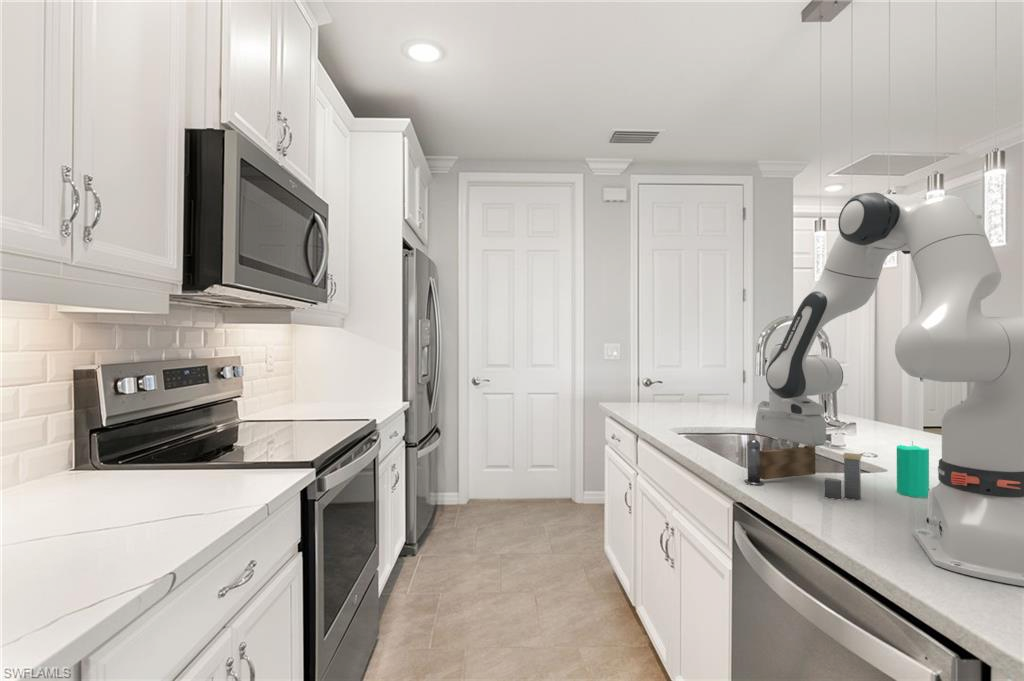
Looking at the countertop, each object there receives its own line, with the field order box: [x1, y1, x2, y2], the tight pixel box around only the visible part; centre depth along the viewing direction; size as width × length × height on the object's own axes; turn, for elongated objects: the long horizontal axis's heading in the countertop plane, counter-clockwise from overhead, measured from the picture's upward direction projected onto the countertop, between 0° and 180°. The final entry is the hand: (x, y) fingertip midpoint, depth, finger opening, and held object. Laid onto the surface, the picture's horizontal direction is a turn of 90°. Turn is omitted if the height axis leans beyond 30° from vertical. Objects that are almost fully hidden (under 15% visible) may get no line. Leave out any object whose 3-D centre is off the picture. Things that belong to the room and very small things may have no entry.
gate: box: [760, 444, 817, 481], centre depth 133 cm, size 16×2×7 cm, turn 107°
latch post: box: [823, 452, 862, 501], centre depth 118 cm, size 5×7×10 cm
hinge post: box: [743, 438, 765, 487], centre depth 130 cm, size 4×4×11 cm
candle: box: [896, 440, 930, 498], centre depth 121 cm, size 6×6×12 cm
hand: (788, 457), depth 139 cm, fingers closed
